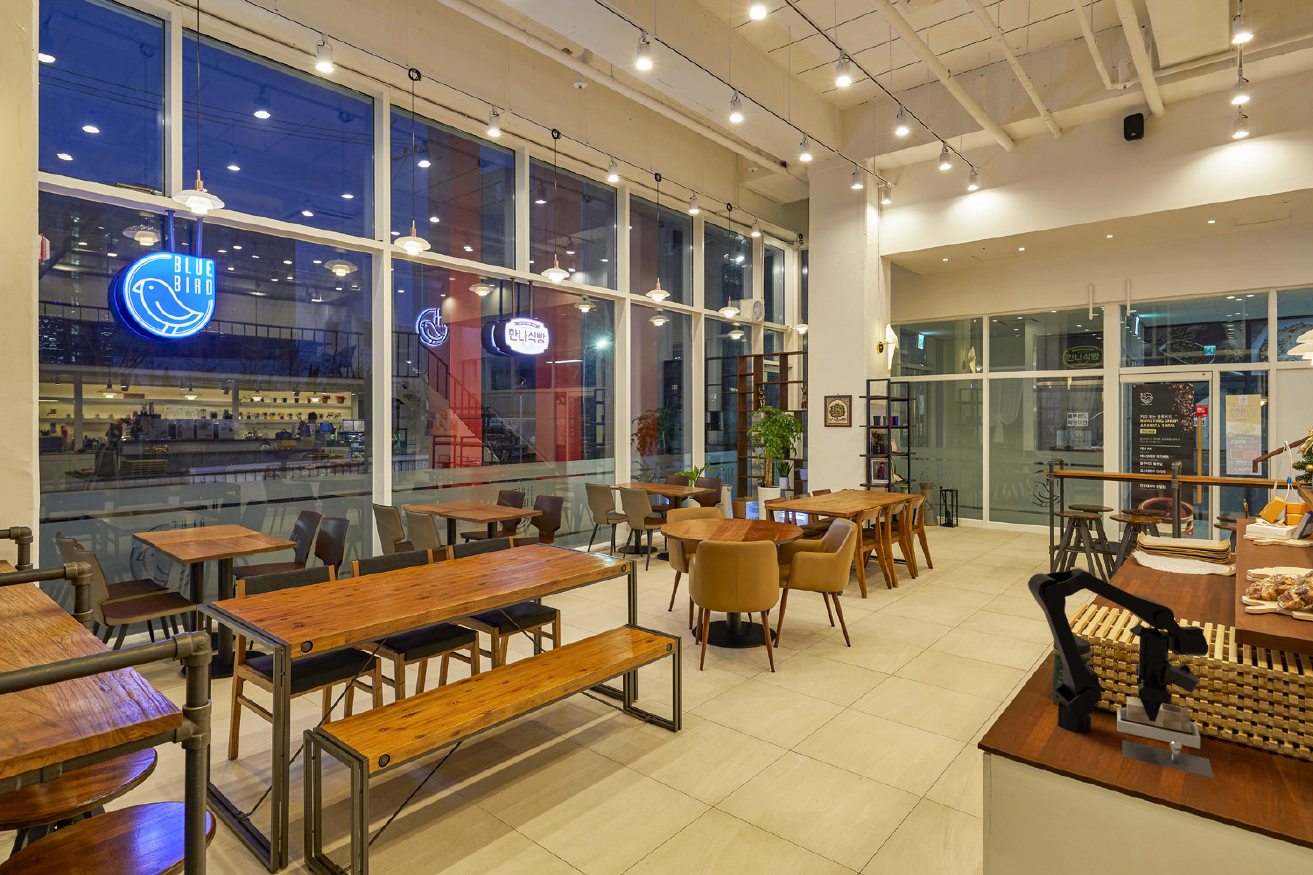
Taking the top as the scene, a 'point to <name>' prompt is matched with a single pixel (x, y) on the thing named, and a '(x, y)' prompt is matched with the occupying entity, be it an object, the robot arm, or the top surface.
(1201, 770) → the stud base
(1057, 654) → the coffee jar
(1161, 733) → the tray
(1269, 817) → the top surface
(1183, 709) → the beige rectangular block
